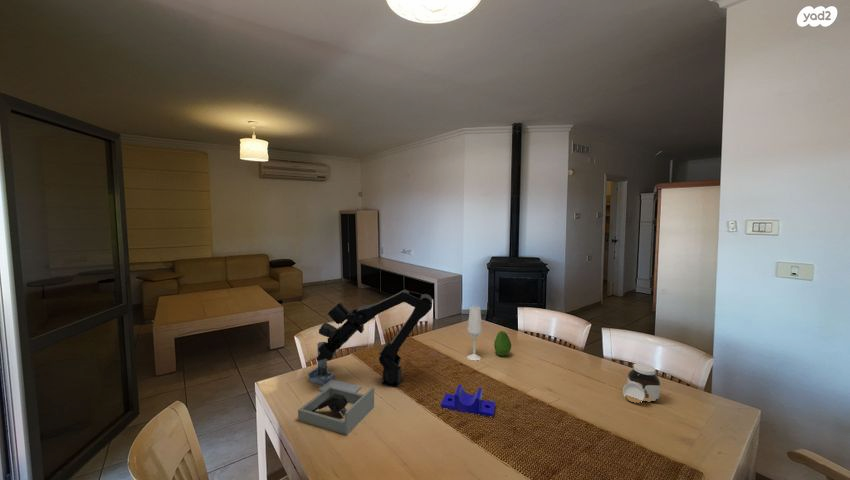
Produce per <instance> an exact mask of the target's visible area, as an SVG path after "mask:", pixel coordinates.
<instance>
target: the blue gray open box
mask: <svg viewBox="0 0 850 480" xmlns="http://www.w3.org/2000/svg"><path fill="white" fill-rule="evenodd" d="M335 374H336V373H335V372H330V371H327V374H326V375H324V376H319V375H318V366H317V367H316V368H314V369H313V370H311V371H310V372H308V375H307V376H308V377H307V378H308V380H307V381H309V383H313V384H317V385H321V386H323V385H325V384H326V383H327V382H329V381H330V380H331V379H332V380H334V379H335V378H336V375H335Z"/></svg>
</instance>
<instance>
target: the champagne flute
mask: <svg viewBox="0 0 850 480" xmlns="http://www.w3.org/2000/svg"><path fill="white" fill-rule="evenodd" d="M482 328H483V327H482V311H481V307H480V306H477V305H476V306H475V305H474V306H470V307H469V315H468V322H467V333H468V335H469V336H470V337H471V338H473V340H472V354H469V355H467V356H466V359H467V358H468V359H467V360H469V359H470V360H469V361H471V360H475V361H474V362H477V361H476V360H479V361H481V360H482V357H481V356H479V355H478V354H477V353H476V344H477V343H476V339H477V338H478V337H480V335H481V334H482V333H483V329H482ZM480 359H481V360H480Z"/></svg>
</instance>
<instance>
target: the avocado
mask: <svg viewBox="0 0 850 480" xmlns="http://www.w3.org/2000/svg"><path fill="white" fill-rule="evenodd" d="M493 347H494V351H495V353H496V354H497V355H498V356H500V355H501V357H505V356H507V355H508V354H509V353H510V352H511V350H512V341H511V340H510V337H509V335H508V333H507V332H506V331H504V330H500V331H499V332H498V333H497V334H496V337H495V339H494V343H493Z"/></svg>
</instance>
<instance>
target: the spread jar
mask: <svg viewBox="0 0 850 480" xmlns="http://www.w3.org/2000/svg"><path fill="white" fill-rule="evenodd" d="M656 370H657V369H656V368H655V367H654V366H652V365H650V364H646V363H641V362H640V363H639V362H637V363H634V364H633V368H632V369H631V370H630V371H629V372H628V374H627V382H626V384H625V385H624V386H623V388H622V394H623V396H624V397H625V396H626V395H628V396H631V397H634V398H637V399H639V400H642V401H644V399H645V398H651V399H658V398H659V399H660V395H661V381H660V378H659V377H658V375H657V374H656ZM659 399H658V400H659ZM642 401H641V403H643V402H642Z"/></svg>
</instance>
